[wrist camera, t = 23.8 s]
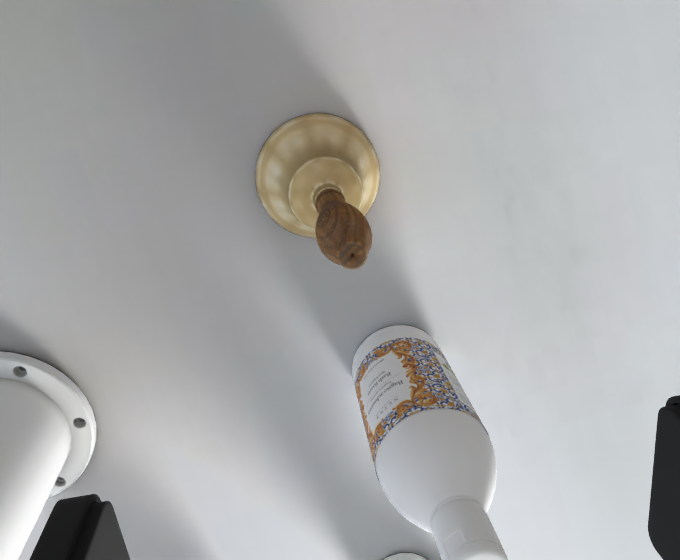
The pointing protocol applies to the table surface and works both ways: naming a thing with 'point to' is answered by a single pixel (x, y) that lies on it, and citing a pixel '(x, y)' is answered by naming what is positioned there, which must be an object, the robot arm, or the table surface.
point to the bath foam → (427, 441)
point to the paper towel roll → (405, 557)
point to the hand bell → (321, 184)
